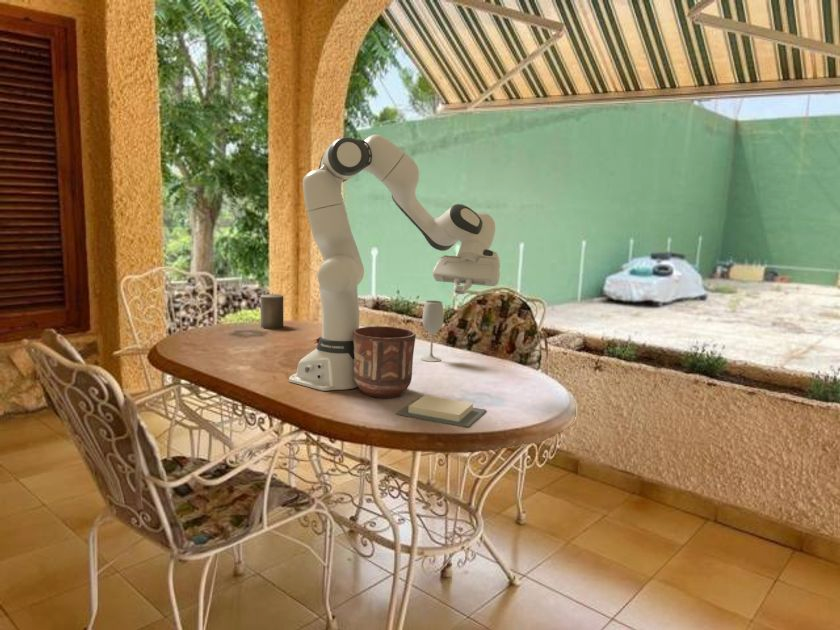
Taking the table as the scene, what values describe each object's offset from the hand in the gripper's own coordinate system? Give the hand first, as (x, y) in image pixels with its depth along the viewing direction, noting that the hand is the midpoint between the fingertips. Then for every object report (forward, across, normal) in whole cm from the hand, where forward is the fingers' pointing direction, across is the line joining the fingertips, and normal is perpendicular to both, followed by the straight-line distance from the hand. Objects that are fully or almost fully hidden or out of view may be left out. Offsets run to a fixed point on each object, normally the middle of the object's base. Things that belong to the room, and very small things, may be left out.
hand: (459, 292), depth 183 cm
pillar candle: (-12, -101, +54) cm, 115 cm away
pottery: (+31, -17, +11) cm, 37 cm away
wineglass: (-1, -20, +42) cm, 47 cm away
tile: (+33, +5, +7) cm, 34 cm away
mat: (+37, +5, +5) cm, 38 cm away
